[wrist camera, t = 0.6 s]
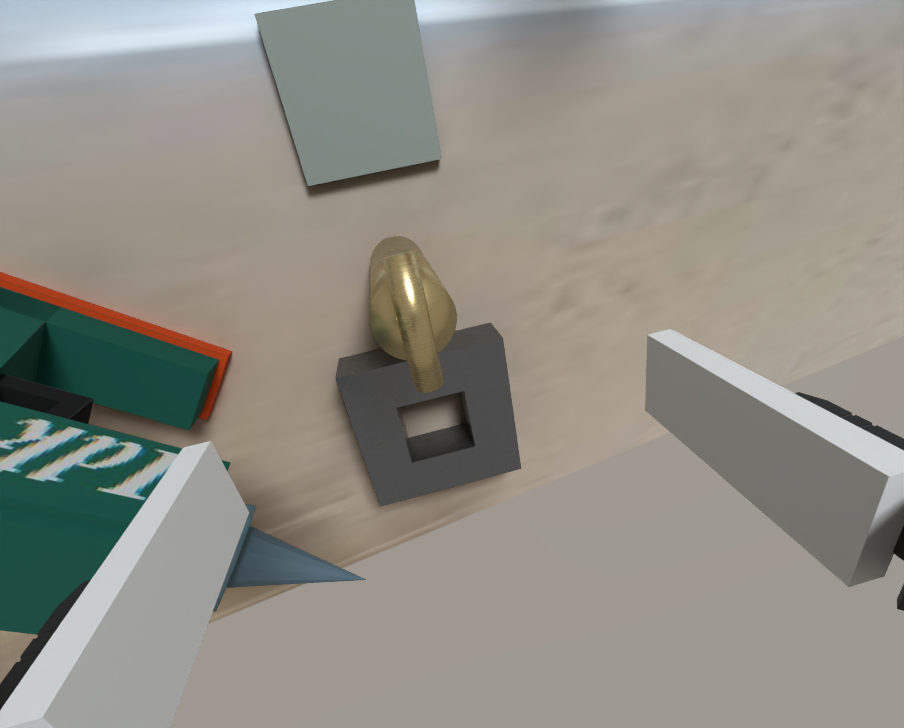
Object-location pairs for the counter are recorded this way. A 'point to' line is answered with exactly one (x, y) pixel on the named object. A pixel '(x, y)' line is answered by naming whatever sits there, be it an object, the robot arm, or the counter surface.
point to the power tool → (98, 447)
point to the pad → (352, 86)
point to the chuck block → (440, 452)
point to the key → (410, 310)
